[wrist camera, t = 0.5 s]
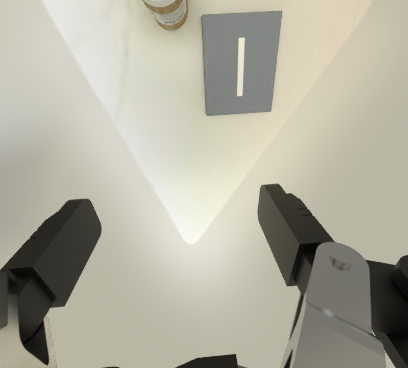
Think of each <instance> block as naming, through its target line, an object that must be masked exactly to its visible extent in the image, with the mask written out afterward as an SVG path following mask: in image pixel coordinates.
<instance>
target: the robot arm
mask: <svg viewBox="0 0 408 368" xmlns="http://www.w3.org/2000/svg"><path fill="white" fill-rule="evenodd" d="M258 220H259V223H260V225H261V228H262V230H263V232H264V235H265V237H266V239H267V242H268V243H269V246H270V248H271V251H272V253H273V255H274V257H275V260H276V262H277V264H278V266H279V269H280V271H281V273H282V276H283V278H284V280H285V283H286V285H287V286H296V285H297V286H298V288H299V290H300V292H301V293H300V296H299V300H298V304H297V308H296V312H295V316H294V320H293V323H292V327H291V332H290V335H289V339H288V344H287V347H286V350H285V353H284V356H283V360H282V363H281V367H280V368H386V361H385V352H384V350H385V351H386V353H387V354H388V356H389V358H390V359H391V361H392V363H393V364H394V366H395V367H396V368H408V255H406V256H403V257H401V258H400V260H399V261H398V262H397V264H396V265H392V264H386V263H381V262H374V261H369V260H365V259H364V258H363V257H362V256H361V255H360V254H359V253H358V252H357V251H355V250H354V249H352V248H350V247H348V246H346V245H343V244H340V243H336V242H334V241H333V239H332V238H331V237H330V236H329V234H328V233H327V232H326V230H324V228H323V227H322V225H321V224H320V223H319V222H318V221H317V219H316V218H315V217H314V216H312V213H311V212H310V211H309V209H307V207H306V206H305V204H304V203H303V202H302V201H301V200H300V199H299V198H297V197H296V196H294V195H293V194H291V193H289V194H286V193H285V191H284V190H283V189H282V187H281V186H280V185H279V184H268V185H262V186H261V188H260V195H259V204H258ZM100 235H101V223H100V221H99V218H98V216H97V214H96V212H95V210H94V207H93V205H92V203H91V201H90V200H89V199H76V200H68V201H67V202H66V203H65V204H64V206H63V207H62V208H61V209H60V210H59V211H58V212H56V213H55V214H54V215H52V216H51V217H49V218H48V219H47V220H45V221H44V222H43V223H42V225H41V226H40V227H39V228H38V229H37V231H35V232H34V233H33V234H32V236H31V237H30V239H28V240H27V241H26V242H25V243H24V244H23V246H22V247H21V248H20V249H19V250H18V251H17V252H16V253H15V254H14V256H13V257H12V258H11V259H10V260H9V261H8V262H7V263H6V265H4V267H3V268H2V269H1V270H0V368H57V364H56V358H55V352H54V346H53V341H52V335H51V329H50V323H49V318H48V317H47V316H46V314H47V312H48V311H49V309H50V308H53V307H62V306H65V304H66V302H67V300H68V299H69V296H70V295H71V293H72V291H73V289H74V287H75V284H76V283H77V281H78V279H79V277H80V275H81V273H82V271H83V269H84V267H85V265H86V263H87V261H88V259H89V257H90V255H91V253H92V251H93V249H94V247H95V245H96V244H97V241H98V239H99V237H100ZM372 330H373V332H374V334H375V335H376V336H374V335H373V334H372ZM106 368H119V367H106ZM176 368H246V367H243V366H239V365H237V358H236V354H231V355H222V356H212V357H203V358H196V359H194V360H191V361H190V362H187V363H185V364H183V365H180V366H178V367H176Z"/></svg>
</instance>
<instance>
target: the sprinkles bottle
mask: <svg viewBox="0 0 408 368" xmlns="http://www.w3.org/2000/svg"><path fill="white" fill-rule="evenodd" d="M143 2H144V3H145V5H146V6H147V8H148V9H149V11H150V12H151V13H152V15H153V16H154V18H155V20H156V21H157V23H158V24H159V25H160V26H161V27H163V28H165V29H167V30H175V29H178V28H179V27H181V26H182V25H183V23H184V22H185V20H186V17H187V13H188V5H187V0H143Z"/></svg>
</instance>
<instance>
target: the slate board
mask: <svg viewBox="0 0 408 368" xmlns="http://www.w3.org/2000/svg"><path fill="white" fill-rule="evenodd" d="M281 18H282V11H268V12H250V13H231V14H212V15H202V31H203V53H204V76H205V98H206V115H207V116H212V115H227V114H241V113H256V112H271V107H272V98H273V89H274V80H275V71H276V63H277V54H278V45H279V36H280V27H281Z"/></svg>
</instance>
